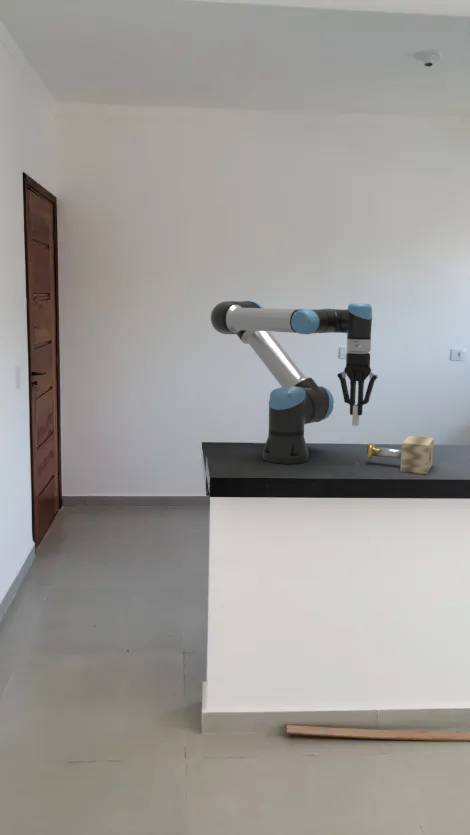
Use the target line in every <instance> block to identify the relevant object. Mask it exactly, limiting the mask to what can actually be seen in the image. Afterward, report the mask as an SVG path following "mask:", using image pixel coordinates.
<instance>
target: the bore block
mask: <svg viewBox="0 0 470 835" xmlns="http://www.w3.org/2000/svg"><path fill="white" fill-rule="evenodd" d="M415 436H416V435H408V436H407V437H406V438H405V439H404V440H403V441H402V442H401V450H402V453H401V459H400V472H403V473H404V472H405V473H411V474H413V473H414V474H420V475H421V474H423V475H427V474H428V473H429V471H430V470H431V468H432V466H433V458H434V455H433V454H434V442H435V439H434V437H425V436H424V437H423V436H416V437H415Z"/></svg>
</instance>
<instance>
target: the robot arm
mask: <svg viewBox="0 0 470 835" xmlns="http://www.w3.org/2000/svg"><path fill="white" fill-rule="evenodd" d="M347 307H348V308H347V309H339V308H336V309H335V308H320V309H307V308H301V309H300V308H269V307H268V308H266V307H264V306H263V305H261V304H260V303H258V302H257V301H252V300H244V301H241V300H239V301H238V300H237V301H234V300H233V301H232V300H231V301H229V300H228V301H222V302H220V303H217V304H216V305H215V306H214V308H212V309H211V310H212V311H211V313H210V321H211V322H210V323H211V325H212V327H213V329H214V330H215V331H216V332H217V333H220V334H222V335H236V336H237V337H238V338H239V340H240V341H241V342H242V343H243V344H245V345H249V346H250V347H251V349H252V350H253V351H254V353H255V354H256V355H257V356H258V358H259V359H260V361H261V362H262V363H263V364H264V365H265V367H266V369H267V370H268V371H269V372H270V373H271V375H272V376H273V377H274V379H275V380H276V382H278V384H279V385H280V386H281V387H277V388H275V389H273V390H272V391H271V392H270V394H269V401H268V436H267V439H266V442H265V444H264V447H263V451H262V459H263V460H264V461H266V462H270V463H275V464H280V465H281V464H285V465H289V464H290V465H295V464H301V463H305V462H308V461H309V455H310V454H309V449H308V447H307V443H306V439H305V425H308V424H313V423H319V422H322V421H323V420H326V419H328V418H329V417H330V415H331V414H332V412H333V410H334V403H335V401H334V396H333V394H332V392H331V391H330V390H329V389H328V388H327V387H324V386H319V385H318V384H317V382H316V381H315V380H314V379H313V378H312V377H311V376H310V377H309V376H308V377H307V376H306V375H305V374H303V372H302V371H301V369H300V368H299V367H298V366H297V364H296V363H295V362H294V361H293V359H292V358H291V357H290V355H289V354H288V353H287V352H286V350H285V349H284V348H283V346H282V345H281V344H280V342H278V340H277V339H276V337H275V336H274V335H273V334H272V333H271V332H275V333H289V334H290V333H295V334H296V333H297V334H299V335H311V334H328V333H329V334H330V333H336V334H337V333H340V334H341V333H342V334H343V333H344V334H346V352H347V353H346V355H345V356H346V358H345V360H346V361H345V367H344V369H343V371H341V372H339V373H337V377H338V380H339V381H340V388H341V390H342V396H343V402H344V403H346V404H349V415H351V416H352V420H351V421H352V423H351V426H353V427H354V426H355V427H357V426H359V424H360V422H359V421H360V416H362V415H363V407H364V405H366V404H368V403H369V402H370V399H371V398H370V397H371V395H372V391H373V389H374V385H375V382H376V381H377V379H378V378H379V376H378V374H375V373H374V372H372V369H371V367H370V366H371V354H370V353H369V352H371V348H372V346H371V345H372V323H373V322H372V320H373V306H372V305H371V304H369V303H349V304H348V306H347ZM346 377H347V378H348V379H349V380H350V381H349V382H350V383H349V384H350V389H348V384H347V379H346ZM367 378H368V379H369V381H368V384H367V388H366V391H365V395H364V390H365V389H364V387H365V381H366V379H367ZM357 385H358V388H357V391H356V387H357ZM356 393H357V404H356Z"/></svg>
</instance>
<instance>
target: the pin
mask: <svg viewBox="0 0 470 835" xmlns="http://www.w3.org/2000/svg"><path fill="white" fill-rule="evenodd" d="M401 453H402V449H400V448H399V449H397V448H389V447H388V448H387V447H380V446H376V445H375V443H370V442H369V443H368V444H367V449H366V458H367V459H369V460H373V459H374V458H375V457H378V458H387V459H397V460H401Z"/></svg>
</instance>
